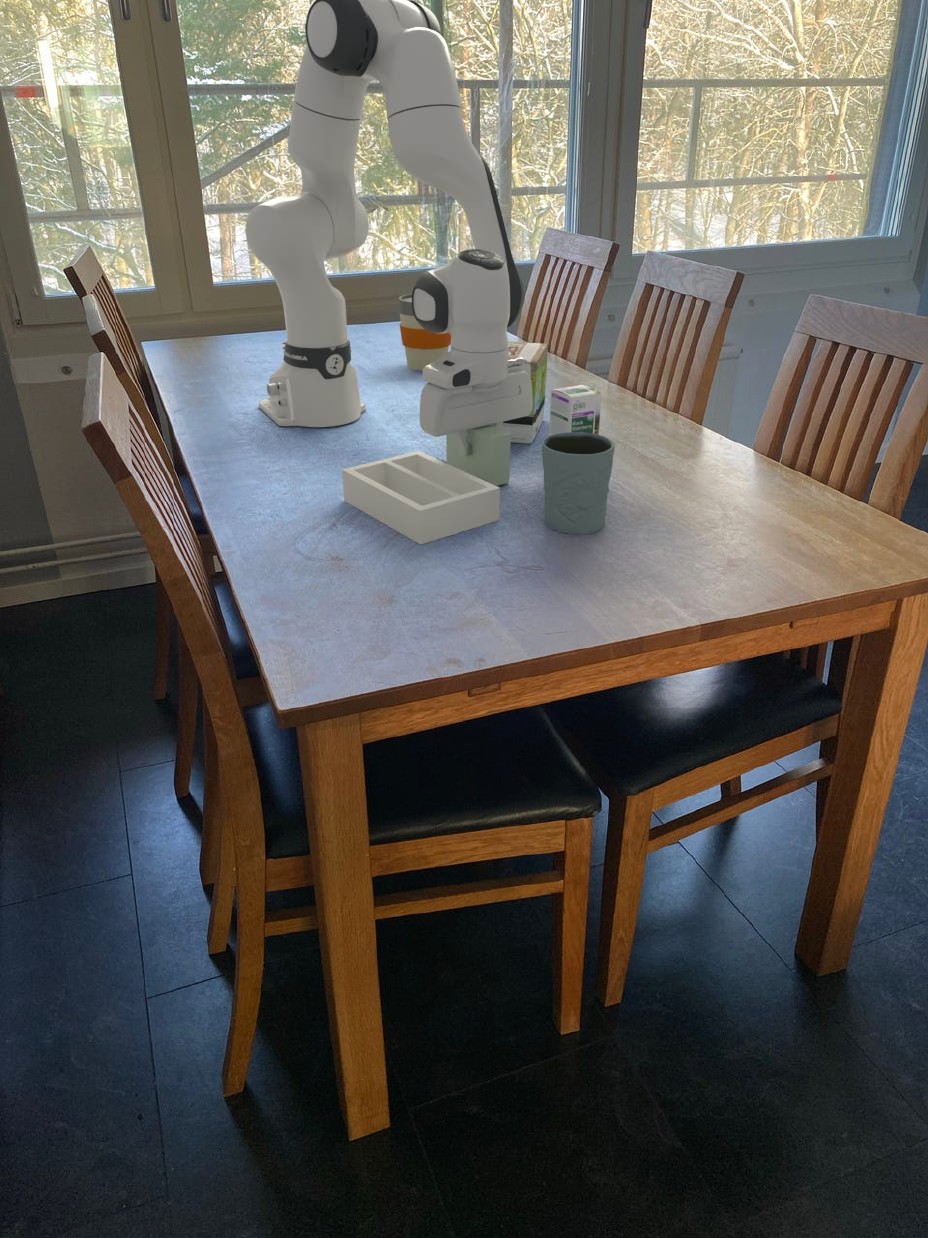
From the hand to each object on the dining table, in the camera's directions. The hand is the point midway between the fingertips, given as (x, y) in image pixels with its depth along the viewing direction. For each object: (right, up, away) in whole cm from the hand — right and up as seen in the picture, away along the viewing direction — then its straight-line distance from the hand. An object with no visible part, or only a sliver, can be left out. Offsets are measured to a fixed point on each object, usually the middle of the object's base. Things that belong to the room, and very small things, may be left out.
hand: (477, 452), depth 148 cm
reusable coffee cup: (-11, +31, +64) cm, 72 cm away
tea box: (+7, +8, +23) cm, 25 cm away
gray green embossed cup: (+14, -13, -14) cm, 24 cm away
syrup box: (+15, -4, +1) cm, 16 cm away
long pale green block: (0, -3, +2) cm, 4 cm away
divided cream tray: (-9, -11, -11) cm, 18 cm away
